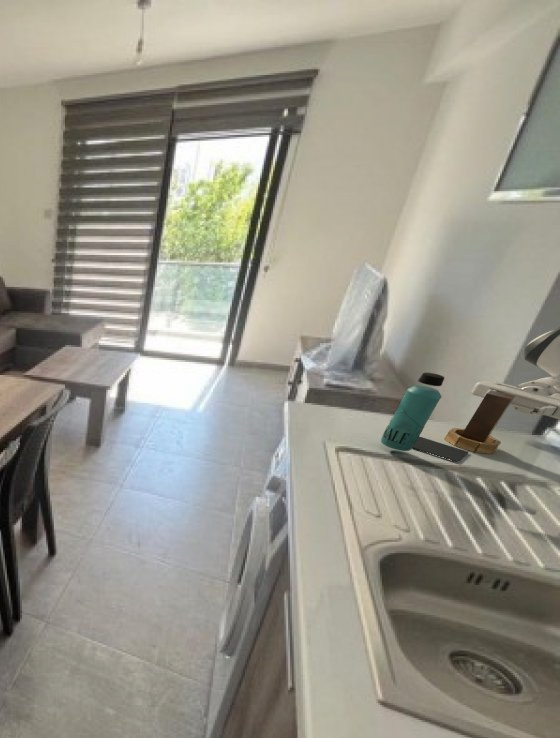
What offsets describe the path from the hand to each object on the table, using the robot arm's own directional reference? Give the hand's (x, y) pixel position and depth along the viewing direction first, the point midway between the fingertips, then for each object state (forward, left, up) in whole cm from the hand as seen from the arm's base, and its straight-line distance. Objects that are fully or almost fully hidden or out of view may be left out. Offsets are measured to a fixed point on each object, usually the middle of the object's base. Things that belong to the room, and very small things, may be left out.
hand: (512, 403), depth 124 cm
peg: (+2, +12, -10) cm, 15 cm away
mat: (+6, +24, -10) cm, 26 cm away
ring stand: (+2, +12, -10) cm, 15 cm away
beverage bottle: (+12, +35, -10) cm, 38 cm away
